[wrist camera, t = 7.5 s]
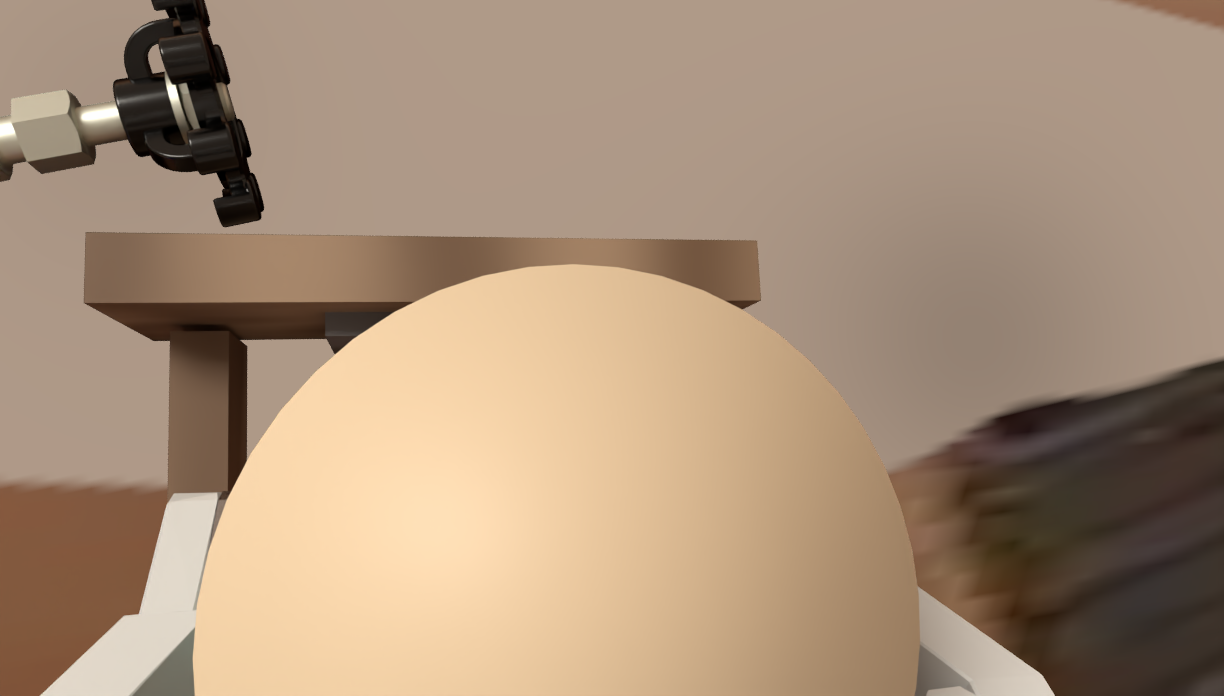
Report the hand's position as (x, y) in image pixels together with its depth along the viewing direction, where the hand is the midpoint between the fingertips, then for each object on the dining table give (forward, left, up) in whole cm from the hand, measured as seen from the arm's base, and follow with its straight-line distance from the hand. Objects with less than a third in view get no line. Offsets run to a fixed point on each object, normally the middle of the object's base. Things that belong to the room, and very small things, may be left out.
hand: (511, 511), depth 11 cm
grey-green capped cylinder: (0, -1, -5) cm, 5 cm away
